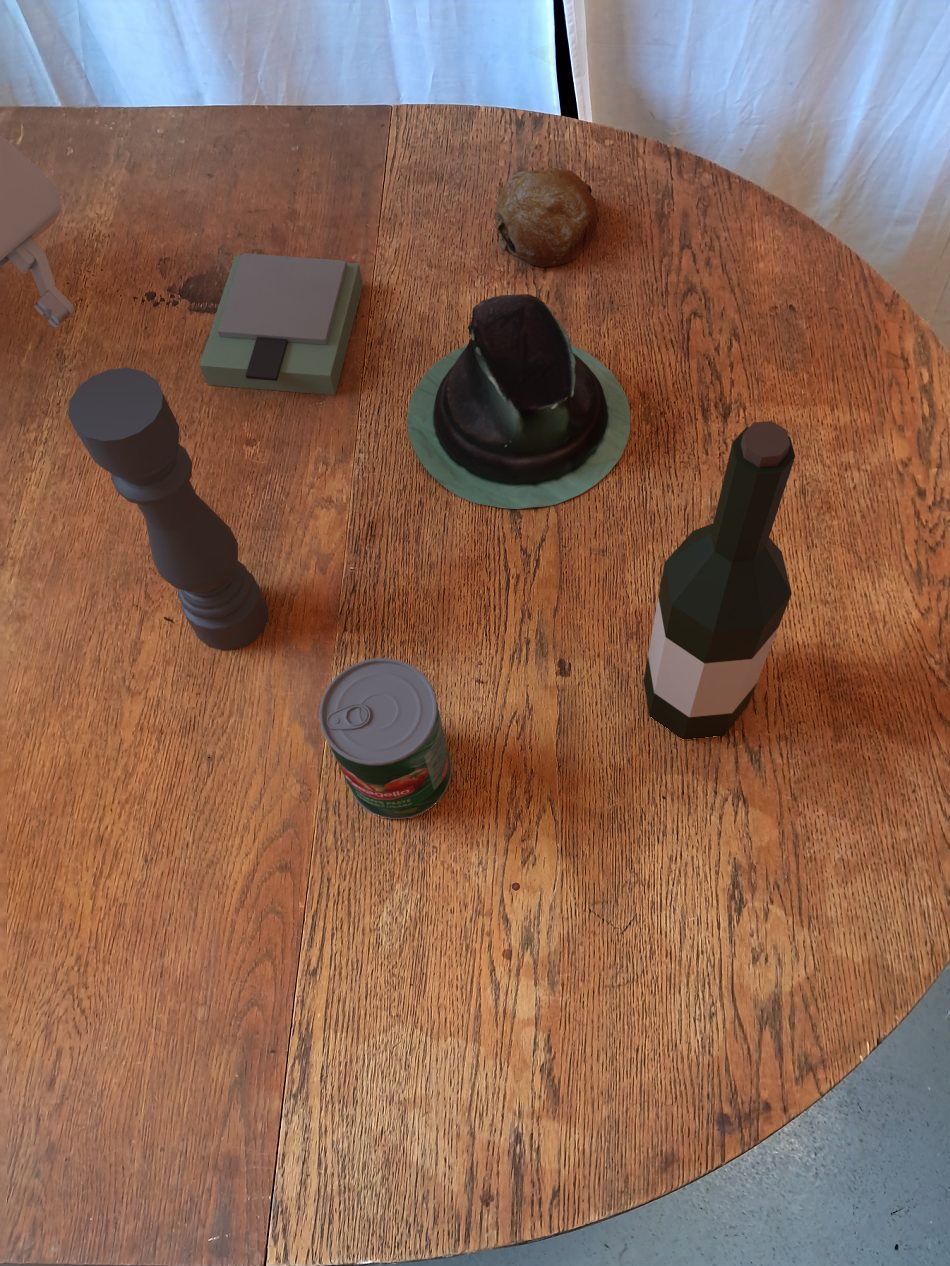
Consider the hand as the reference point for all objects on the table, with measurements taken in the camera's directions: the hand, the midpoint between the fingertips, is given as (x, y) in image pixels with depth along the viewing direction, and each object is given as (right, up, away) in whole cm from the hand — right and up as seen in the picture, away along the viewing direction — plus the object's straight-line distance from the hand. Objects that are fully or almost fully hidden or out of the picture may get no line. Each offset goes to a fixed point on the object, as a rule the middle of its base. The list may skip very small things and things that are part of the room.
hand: (14, 365), depth 67 cm
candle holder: (+9, -15, +18) cm, 25 cm away
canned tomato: (+23, -27, +12) cm, 38 cm away
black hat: (+32, +4, +27) cm, 42 cm away
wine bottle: (+46, -21, +15) cm, 53 cm away
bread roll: (+35, +26, +37) cm, 57 cm away
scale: (+10, +14, +31) cm, 36 cm away
